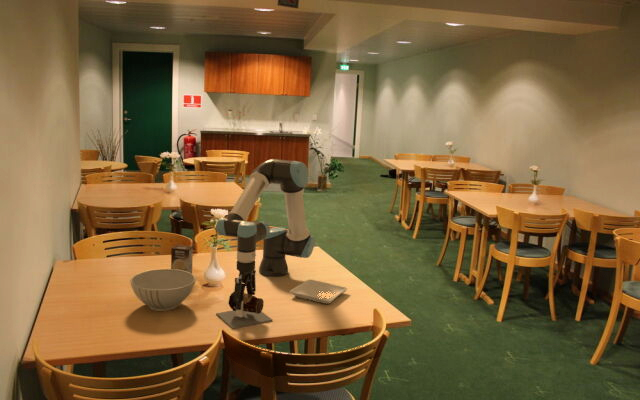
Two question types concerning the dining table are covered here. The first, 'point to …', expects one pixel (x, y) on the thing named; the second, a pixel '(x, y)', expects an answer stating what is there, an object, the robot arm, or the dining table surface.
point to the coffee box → (182, 258)
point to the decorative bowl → (162, 287)
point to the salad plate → (317, 291)
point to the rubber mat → (243, 318)
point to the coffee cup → (248, 303)
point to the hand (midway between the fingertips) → (244, 312)
